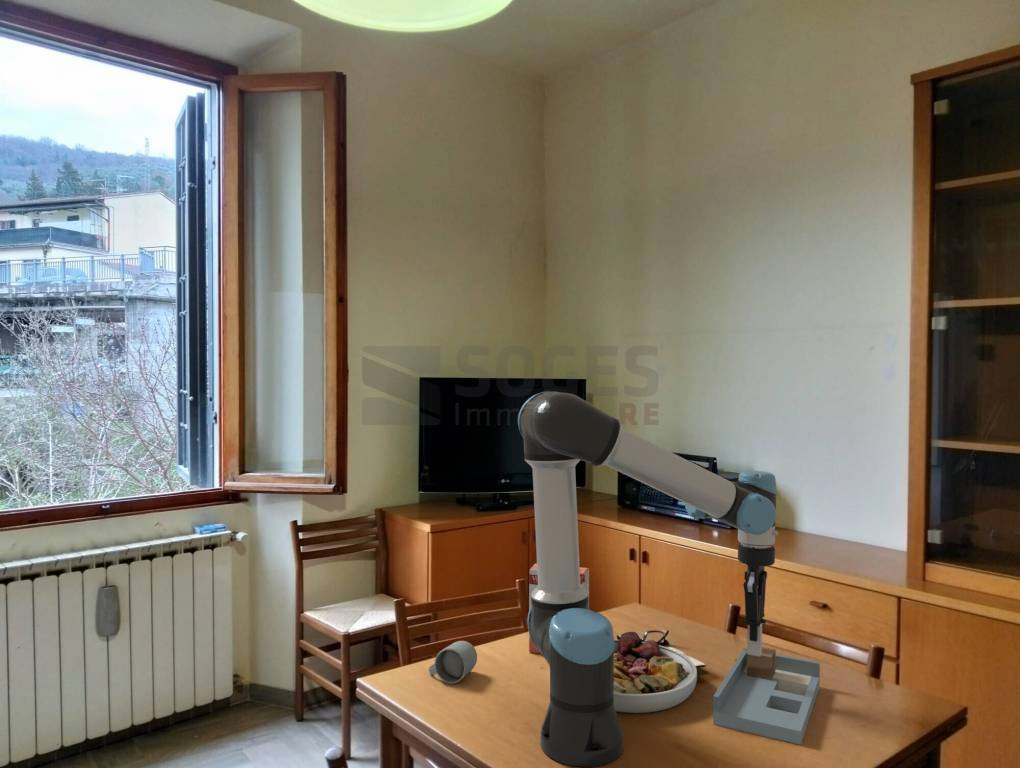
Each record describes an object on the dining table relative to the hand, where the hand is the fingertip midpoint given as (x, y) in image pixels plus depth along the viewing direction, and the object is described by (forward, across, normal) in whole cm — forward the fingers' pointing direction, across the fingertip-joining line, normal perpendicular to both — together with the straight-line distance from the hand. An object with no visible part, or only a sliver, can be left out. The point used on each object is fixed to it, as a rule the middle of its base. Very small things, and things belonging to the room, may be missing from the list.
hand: (754, 654), depth 154 cm
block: (+6, +5, -1) cm, 7 cm away
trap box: (+8, -4, -4) cm, 10 cm away
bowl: (+9, -10, +25) cm, 28 cm away
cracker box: (+9, 0, +46) cm, 47 cm away
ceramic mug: (+10, -25, +61) cm, 67 cm away
